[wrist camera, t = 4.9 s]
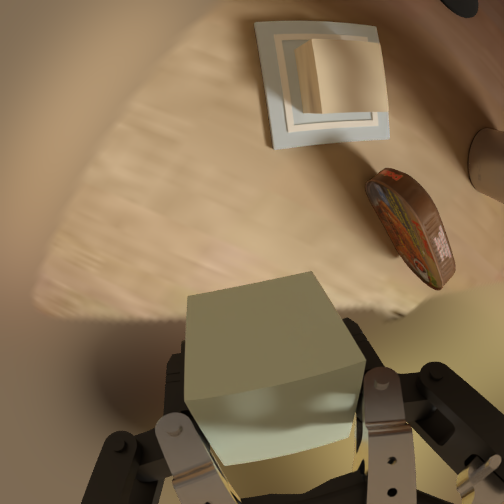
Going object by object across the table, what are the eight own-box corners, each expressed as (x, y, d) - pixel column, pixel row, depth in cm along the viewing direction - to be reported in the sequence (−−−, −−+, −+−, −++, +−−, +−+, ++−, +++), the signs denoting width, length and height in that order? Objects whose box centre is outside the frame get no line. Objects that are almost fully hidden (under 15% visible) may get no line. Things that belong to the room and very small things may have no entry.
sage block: (311, 270, 12) (366, 359, 7) (313, 355, 14) (348, 437, 10) (187, 296, 11) (184, 400, 7) (215, 376, 14) (224, 465, 9)
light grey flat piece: (373, 27, 21) (377, 26, 20) (386, 138, 26) (390, 139, 25) (253, 24, 20) (255, 21, 19) (272, 149, 25) (274, 150, 25)
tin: (352, 173, 27) (401, 197, 20) (375, 155, 27) (427, 174, 19) (405, 268, 34) (444, 306, 26) (422, 253, 33) (463, 287, 26)
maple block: (354, 51, 21) (380, 43, 17) (362, 110, 24) (388, 111, 20) (294, 49, 21) (311, 38, 17) (303, 113, 24) (322, 113, 20)
